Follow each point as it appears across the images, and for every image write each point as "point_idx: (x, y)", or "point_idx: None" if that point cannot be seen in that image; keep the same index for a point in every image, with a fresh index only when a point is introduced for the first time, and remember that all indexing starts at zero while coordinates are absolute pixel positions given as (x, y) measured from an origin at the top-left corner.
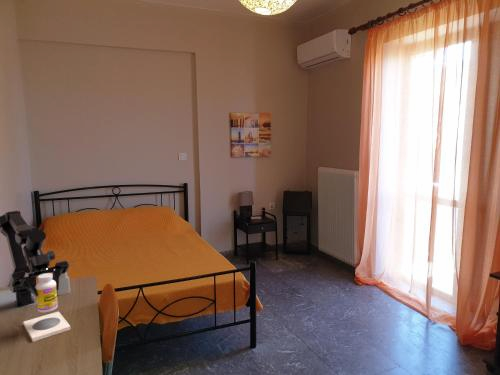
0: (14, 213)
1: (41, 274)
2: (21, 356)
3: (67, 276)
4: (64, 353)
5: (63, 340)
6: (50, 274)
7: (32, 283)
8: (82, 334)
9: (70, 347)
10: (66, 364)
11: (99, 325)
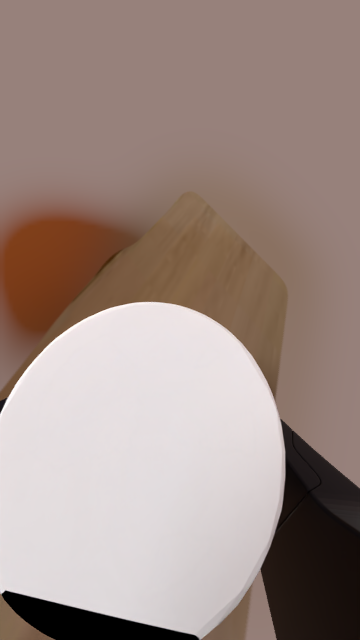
0: None
1: (161, 637)
2: (258, 304)
3: None
4: (200, 251)
5: (178, 291)
6: (49, 389)
7: (300, 468)
8: (140, 280)
9: (183, 258)
10: (212, 225)
11: (91, 282)
